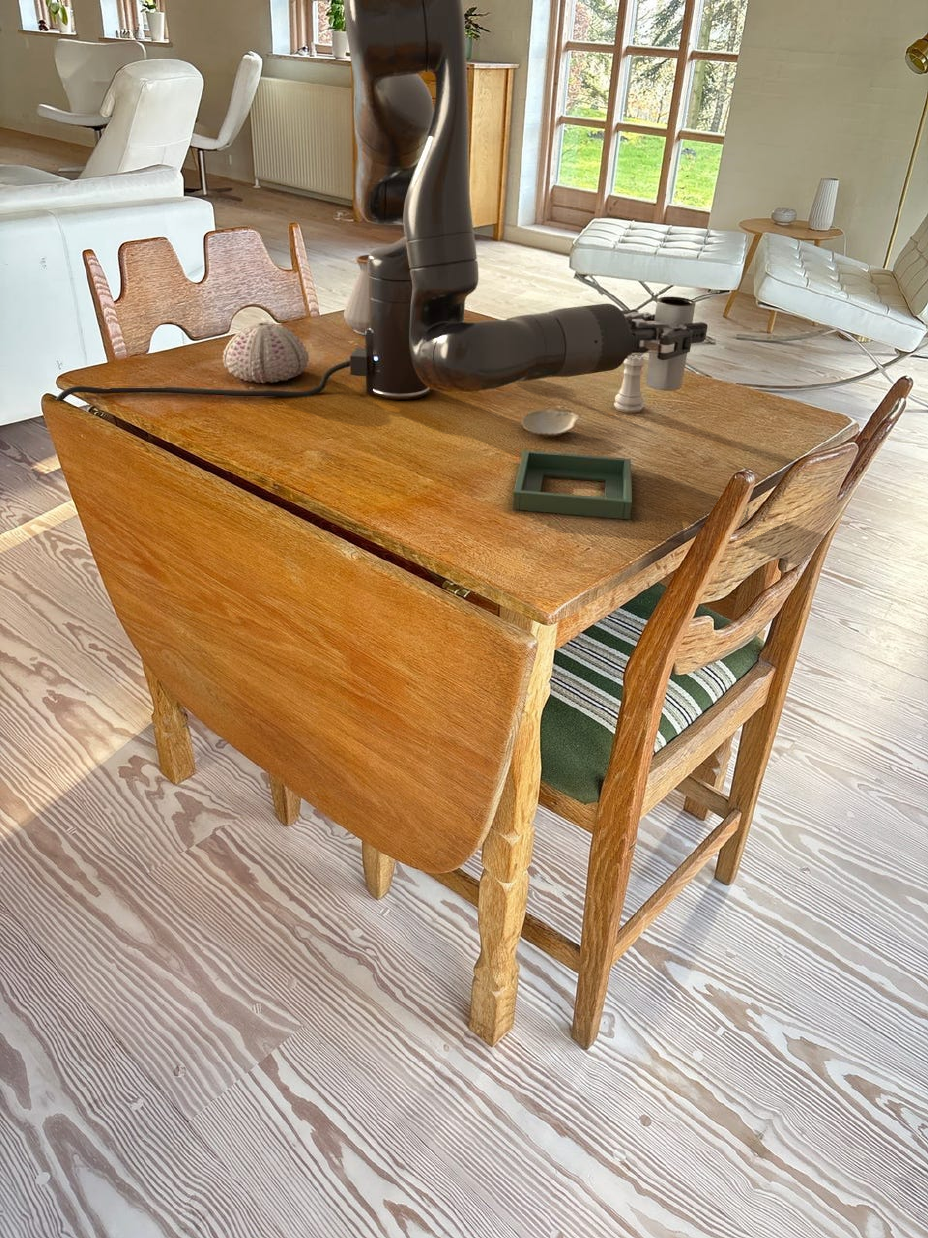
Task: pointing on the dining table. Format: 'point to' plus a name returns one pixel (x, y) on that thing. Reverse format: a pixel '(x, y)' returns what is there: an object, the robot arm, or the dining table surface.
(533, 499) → the green square frame
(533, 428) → the seashell
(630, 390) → the rook chess piece
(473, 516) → the dining table surface
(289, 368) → the sea urchin shell
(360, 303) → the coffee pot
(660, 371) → the white hollow cylinder
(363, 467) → the dining table surface
